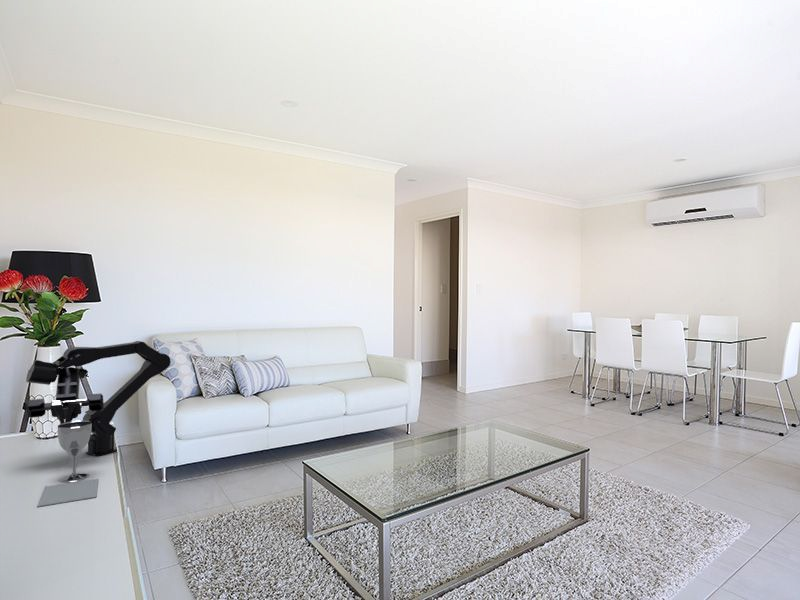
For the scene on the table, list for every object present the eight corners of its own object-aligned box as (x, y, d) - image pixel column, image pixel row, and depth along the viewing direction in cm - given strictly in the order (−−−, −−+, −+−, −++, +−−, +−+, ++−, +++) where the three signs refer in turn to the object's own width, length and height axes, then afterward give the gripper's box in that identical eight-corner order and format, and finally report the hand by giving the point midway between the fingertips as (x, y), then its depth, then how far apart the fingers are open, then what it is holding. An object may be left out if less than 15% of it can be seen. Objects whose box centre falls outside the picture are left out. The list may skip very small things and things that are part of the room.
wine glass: (50, 479, 132) (51, 425, 133) (80, 470, 139) (81, 419, 140) (66, 485, 129) (67, 429, 129) (96, 475, 136) (97, 422, 136)
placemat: (45, 487, 127) (45, 486, 127) (98, 479, 133) (98, 478, 133) (37, 507, 115) (37, 506, 115) (96, 497, 121) (96, 496, 121)
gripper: (104, 396, 158) (103, 439, 148) (34, 403, 148) (28, 449, 139) (103, 376, 151) (101, 420, 141) (29, 382, 141) (22, 429, 132)
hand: (64, 430), depth 139 cm, fingers closed
